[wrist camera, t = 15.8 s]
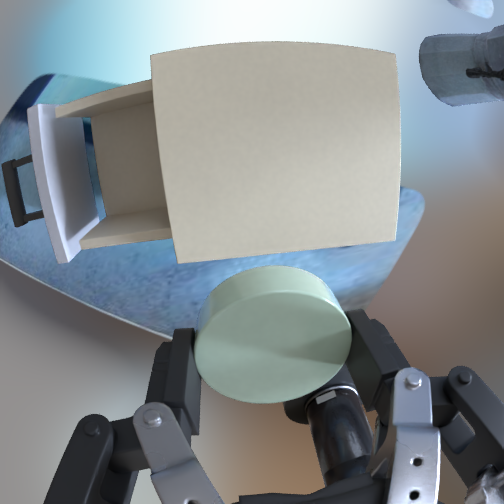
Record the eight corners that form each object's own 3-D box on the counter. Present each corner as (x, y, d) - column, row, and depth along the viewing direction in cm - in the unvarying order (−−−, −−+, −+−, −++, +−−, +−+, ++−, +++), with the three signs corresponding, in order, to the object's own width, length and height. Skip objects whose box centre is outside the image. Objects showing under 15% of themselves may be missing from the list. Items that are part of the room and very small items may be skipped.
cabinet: (191, 220, 28) (177, 264, 19) (175, 78, 22) (149, 54, 13) (349, 206, 28) (395, 240, 20) (345, 71, 22) (395, 53, 14)
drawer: (50, 238, 26) (13, 269, 19) (28, 125, 20) (-18, 132, 14) (234, 212, 27) (237, 243, 20) (222, 76, 21) (220, 56, 15)
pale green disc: (330, 365, 13) (340, 392, 12) (208, 379, 13) (207, 409, 11) (345, 257, 11) (363, 280, 9) (184, 271, 10) (177, 299, 9)
